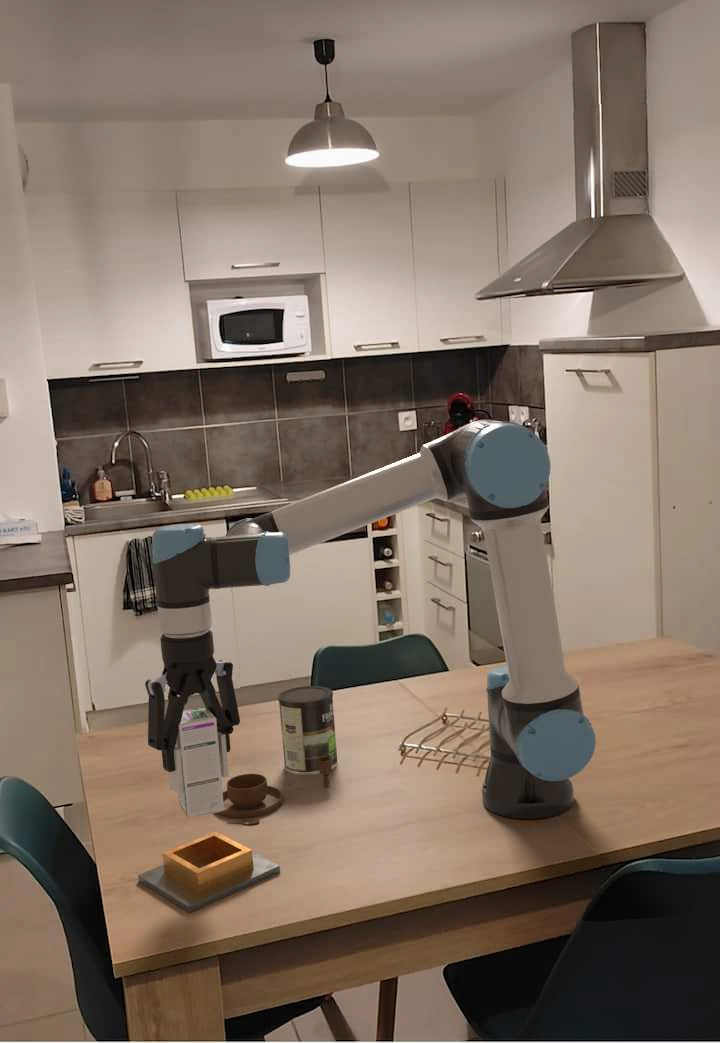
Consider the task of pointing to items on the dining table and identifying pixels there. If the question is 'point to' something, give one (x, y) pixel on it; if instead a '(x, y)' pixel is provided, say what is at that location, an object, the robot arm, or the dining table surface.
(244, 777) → the place setting
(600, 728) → the dining table surface
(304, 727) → the coffee can
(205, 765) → the syrup box
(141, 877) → the wooden box on plate
